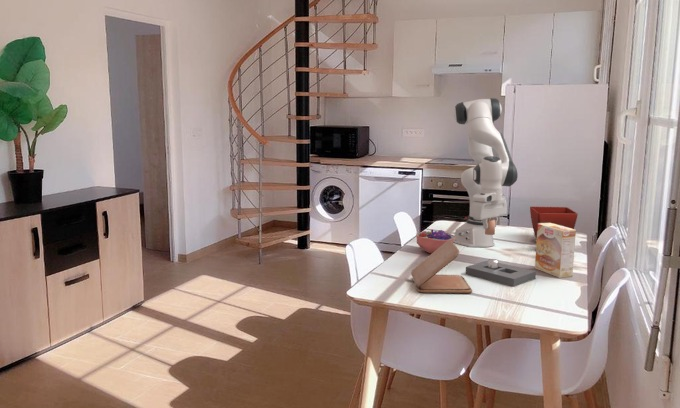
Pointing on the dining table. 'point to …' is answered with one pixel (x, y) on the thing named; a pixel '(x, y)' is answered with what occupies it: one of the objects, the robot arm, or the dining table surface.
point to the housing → (501, 273)
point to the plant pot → (553, 216)
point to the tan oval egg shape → (490, 227)
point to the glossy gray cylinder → (493, 264)
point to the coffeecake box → (555, 249)
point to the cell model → (433, 240)
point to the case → (432, 265)
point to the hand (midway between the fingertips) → (489, 227)
